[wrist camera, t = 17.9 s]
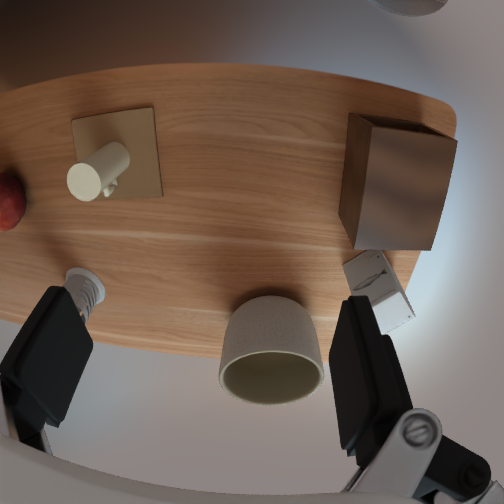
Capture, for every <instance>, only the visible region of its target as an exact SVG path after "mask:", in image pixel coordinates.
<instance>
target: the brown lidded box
mask: <svg viewBox="0 0 504 504" xmlns="http://www.w3.org/2000/svg"><path fill="white" fill-rule="evenodd" d="M457 142H458V141H457V140H455V139H453V138H451V137H449V136H447V135H445V134H443V133H441V132H439V131H437V130H435V129H433V128H431V127H429V126H427V125H425V124H423V123H417V122H412V121H406V120H400V119H393V118H386V117H379V116H372V115H363V114H354V113H349V118H348V131H347V142H346V153H345V163H344V172H343V181H342V190H341V198H340V206H339V213H338V215H339V217H340V219H341V221H342V224H343V226H344V228H345V230H346V232H347V235H348V237H349V239H350V242H351V244H352V246H353V249H356V250H424V251H425V250H426V251H430V250H431V248H432V245H433V242H434V238H435V235H436V232H437V229H438V225H439V222H440V218H441V214H442V210H443V207H444V203H445V199H446V195H447V191H448V187H449V182H450V178H451V173H452V168H453V163H454V158H455V153H456V148H457Z"/></svg>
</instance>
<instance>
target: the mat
mask: <svg viewBox="0 0 504 504" xmlns="http://www.w3.org/2000/svg"><path fill="white" fill-rule="evenodd" d="M71 124H72V131H73V138H74V144H75V150H76V155H77V161H78V162H79V161H81V160H82V159H84V158H85V157H87V156H88V155H90V154H91V153H93V152H94V151H96V150H98V149H99V148H101V147H102V146H104V145H106V144H107V143H110V142H118V143H121V144H122V145H124V146H125V147H126V149H127V150H128V152H129V156H130V162H129V166H128V167H127V169H126V170H125V171H124V172H123V173H122V174H121V175H119V176H118V177H117V178H116V179H117V184H118V187H117V188H116V189H115V190H114V191H113V192H112V193H111V194H110V195H109V196H108V197H105V196H104V193H103V191H102V192H101V193H100V194H99V195H98V196H97V197H96V198H95V199H93V200H91V201H96V200H113V199H134V198H159V197H163V189H162V182H161V174H160V165H159V157H158V147H157V137H156V127H155V116H154V107H147V108H139V109H131V110H124V111H118V112H111V113H105V114H100V115H94V116H89V117H84V118H79V119H74V120H71ZM111 185H112V183H111V184H110V185H109V186H108V187H110V186H111Z"/></svg>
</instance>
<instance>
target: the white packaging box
mask: <svg viewBox="0 0 504 504" xmlns="http://www.w3.org/2000/svg"><path fill="white" fill-rule="evenodd" d="M343 269H344V272H345V275H346V278H347V281H348V284H349V287H350V290H351V294H352V296H360V295H367V296H368V298H369V300H370V303H371V306H372V309H373V311H374V314H375V317H376V320H377V323H378V326H379V329H380V332H381V335H384V334H386V333H388V332H389V331H391V330H393V329H395V328H396V327H398V326H400V325H401V324H403V323H405V322H407V321H409V320H410V319H412V318H414V317H415V314H414V312H413V309H412V307H411V305H410V303H409V301H408V299H407V297H406V295H405V292H404V290H403V288H402V286H401V284H400V282H399V280H398V278H397V276H396V274H395V272H394V270H393V268H392V267H391V265H390V263H389V262H388V260H387V258H386V257H385V255H384V254H383V252H382V251H381V250H366V251H365V252H363V253H362V254H360V255H359V256H357V257H355V258H354V259H352V260H350V261H349V262H347V263H345V264H344V265H343Z"/></svg>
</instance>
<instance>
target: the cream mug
mask: <svg viewBox="0 0 504 504" xmlns="http://www.w3.org/2000/svg"><path fill="white" fill-rule="evenodd" d="M129 162H130V156H129V152H128V150H127V149H126V147H125V146H124V145H122V144H121V143H118V142H110V143H107V144H106V145H104V146H102V147H101V148H99V149H98V150H96V151H94V152H93V153H91V154H90V155H88V156H87V157H85V158H84V159H82V160H81V161H79V162H78V163H76V164H75V165H73V166H72V167H71V168H70V170H69V172H68V175H67V184H68V187H69V190H70V191H71V193H72V194H73V195H74V196H75V197H76V198H78V199H79V200H82V201H91V200H93V199H95V198H96V197H97V196H98V195H99V194H100V193H101V192H102V191H103V193H104V196H105V197H108V196H109V195H110V194H111V193H112V192H113V191H114V190H115V189H116V188H117V187H118V184H117V179H116V178H117V177H118V176H119V175H121V174H122V173H123V172H124V171H125V170H126V169H127V167H128V166H129ZM111 183H112V185H111V186H110V187H108V186H109V185H110V184H111Z"/></svg>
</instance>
